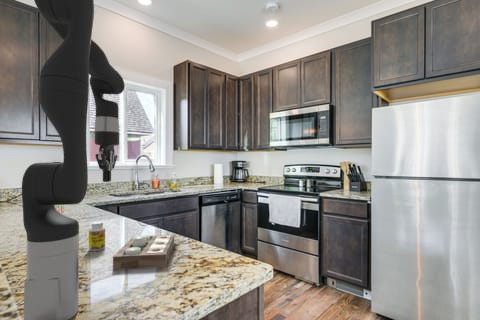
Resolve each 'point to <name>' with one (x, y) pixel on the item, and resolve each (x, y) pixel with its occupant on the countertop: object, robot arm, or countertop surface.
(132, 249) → the button near
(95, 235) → the supplement bottle
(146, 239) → the button far
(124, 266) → the brown wooden tray
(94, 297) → the countertop surface
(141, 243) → the button middle
